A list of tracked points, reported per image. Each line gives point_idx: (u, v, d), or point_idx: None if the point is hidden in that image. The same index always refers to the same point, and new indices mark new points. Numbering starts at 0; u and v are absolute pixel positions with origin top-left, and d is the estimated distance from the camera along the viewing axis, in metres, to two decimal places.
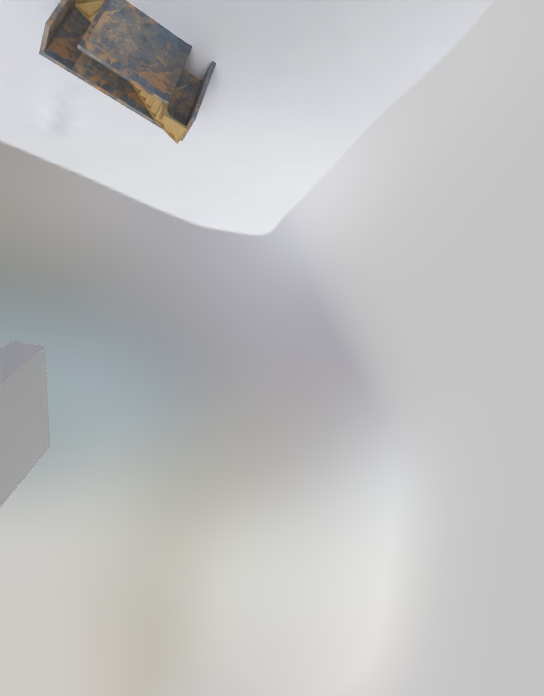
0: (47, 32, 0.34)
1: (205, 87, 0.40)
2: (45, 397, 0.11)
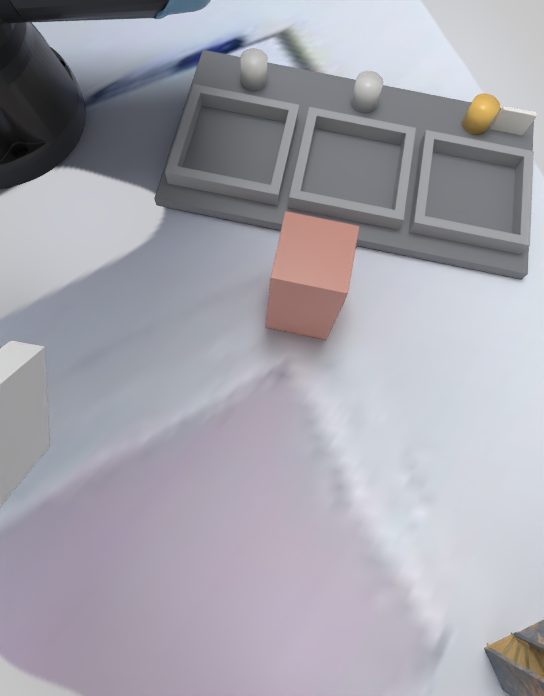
0: None
1: None
2: (45, 397, 0.11)
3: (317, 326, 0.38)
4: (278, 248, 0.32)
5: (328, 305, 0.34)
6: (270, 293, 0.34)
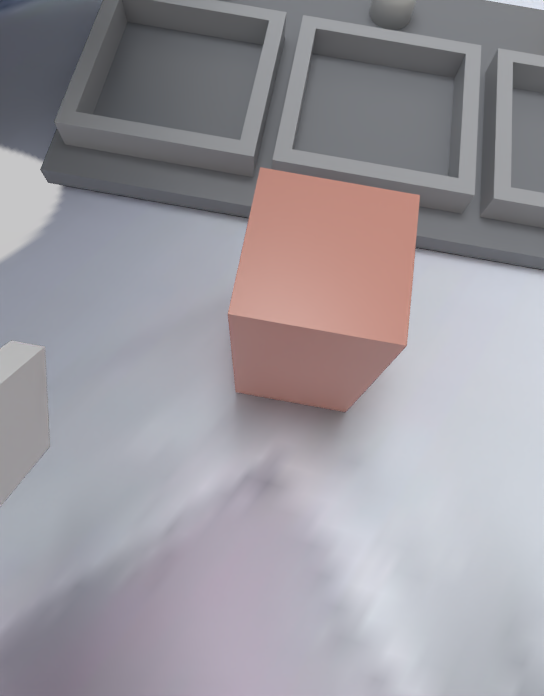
0: None
1: None
2: (45, 397, 0.11)
3: (330, 394, 0.20)
4: (245, 247, 0.14)
5: (356, 366, 0.16)
6: (234, 343, 0.16)
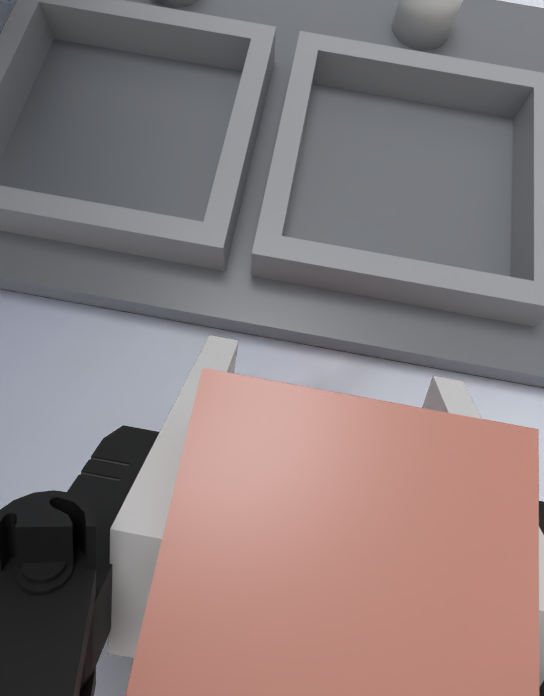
0: None
1: None
2: None
3: None
4: (160, 576, 0.06)
5: None
6: None
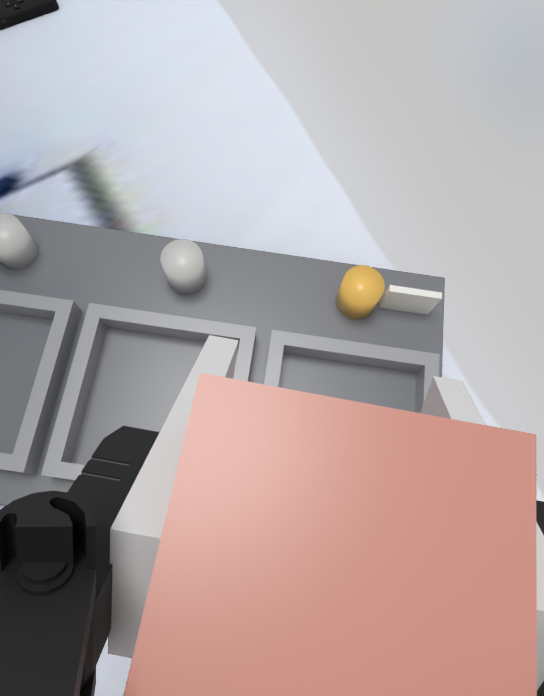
0: None
1: None
2: None
3: None
4: (157, 582, 0.06)
5: None
6: None
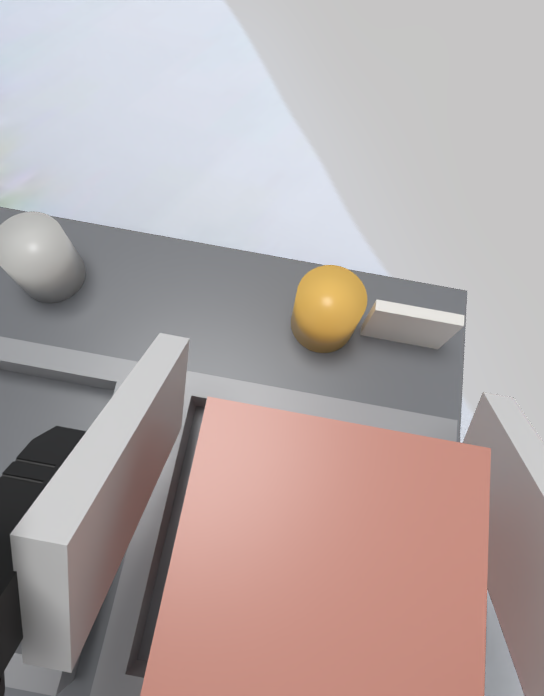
0: None
1: None
2: (183, 384, 0.13)
3: None
4: (173, 572, 0.08)
5: None
6: None
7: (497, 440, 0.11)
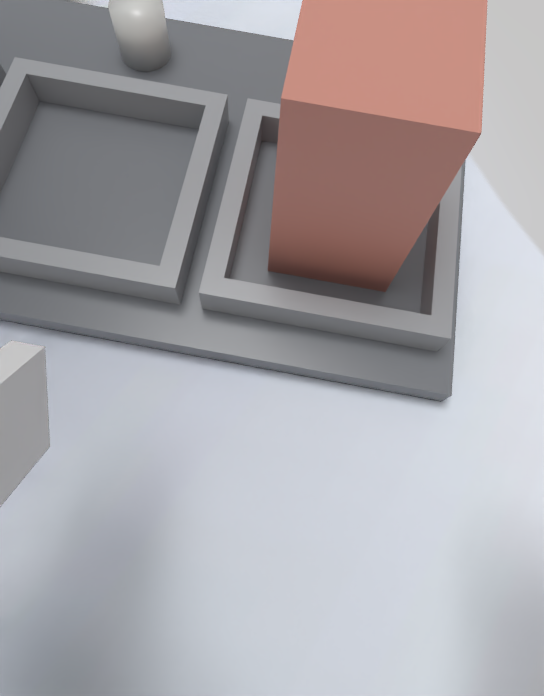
0: None
1: None
2: (45, 397, 0.11)
3: (373, 258, 0.18)
4: (298, 36, 0.13)
5: (413, 190, 0.15)
6: (279, 164, 0.14)
7: None
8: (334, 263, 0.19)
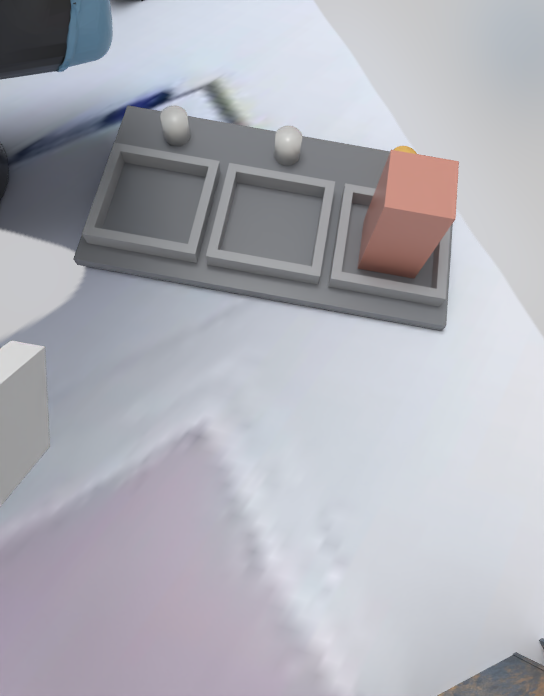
0: None
1: None
2: (45, 397, 0.11)
3: (410, 262, 0.41)
4: (388, 181, 0.35)
5: (430, 236, 0.37)
6: (377, 226, 0.37)
7: None
8: (391, 265, 0.41)
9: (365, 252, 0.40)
